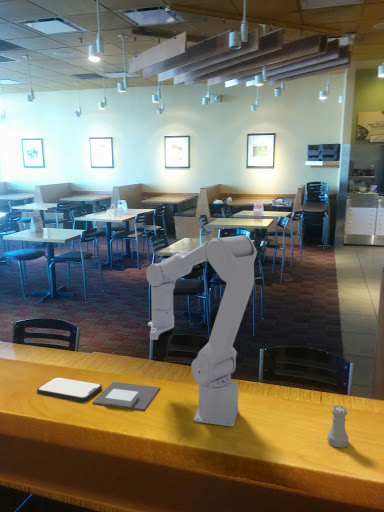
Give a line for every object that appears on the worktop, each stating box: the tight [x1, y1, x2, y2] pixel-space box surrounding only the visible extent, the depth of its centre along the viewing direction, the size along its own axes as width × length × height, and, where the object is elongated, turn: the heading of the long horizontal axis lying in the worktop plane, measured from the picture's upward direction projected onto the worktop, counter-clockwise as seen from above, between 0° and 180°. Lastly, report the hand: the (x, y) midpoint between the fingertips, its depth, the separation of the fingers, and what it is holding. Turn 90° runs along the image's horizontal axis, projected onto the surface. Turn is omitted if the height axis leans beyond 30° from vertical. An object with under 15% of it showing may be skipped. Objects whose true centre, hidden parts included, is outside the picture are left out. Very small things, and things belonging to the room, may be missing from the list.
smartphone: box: [36, 377, 103, 403], centre depth 112 cm, size 9×2×16 cm
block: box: [105, 389, 139, 407], centre depth 106 cm, size 7×2×5 cm
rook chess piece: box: [326, 404, 350, 449], centre depth 88 cm, size 4×4×8 cm
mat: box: [92, 381, 161, 412], centre depth 109 cm, size 14×12×1 cm
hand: (163, 356), depth 111 cm, fingers closed
